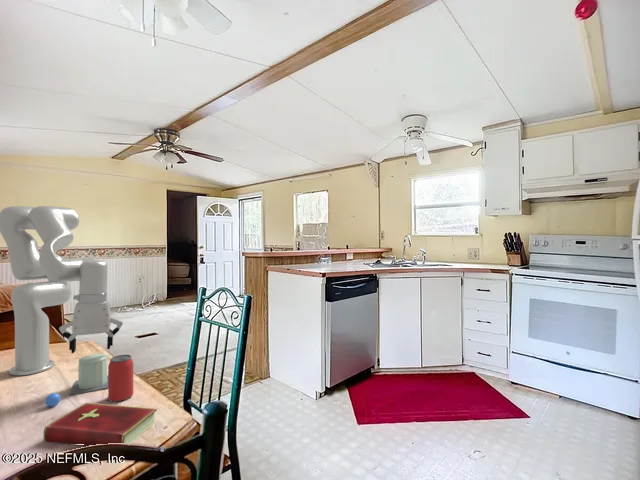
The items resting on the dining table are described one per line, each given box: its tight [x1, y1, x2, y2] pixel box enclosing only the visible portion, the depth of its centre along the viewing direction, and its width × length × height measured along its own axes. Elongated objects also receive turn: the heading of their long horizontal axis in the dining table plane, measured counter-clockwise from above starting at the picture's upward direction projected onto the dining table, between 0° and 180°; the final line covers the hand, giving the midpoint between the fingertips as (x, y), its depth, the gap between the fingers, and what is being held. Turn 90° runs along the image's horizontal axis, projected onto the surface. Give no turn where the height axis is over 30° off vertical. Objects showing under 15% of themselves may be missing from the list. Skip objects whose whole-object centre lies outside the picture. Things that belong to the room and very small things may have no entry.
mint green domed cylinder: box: [78, 353, 108, 389], centre depth 109 cm, size 8×8×8 cm
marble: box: [44, 392, 61, 407], centre depth 96 cm, size 4×4×4 cm
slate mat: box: [69, 375, 108, 396], centre depth 109 cm, size 11×11×1 cm
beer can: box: [107, 354, 134, 403], centre depth 101 cm, size 7×7×12 cm
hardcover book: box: [43, 402, 158, 447], centre depth 83 cm, size 12×21×4 cm, turn 81°
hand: (91, 349), depth 110 cm, fingers open, 9 cm apart
